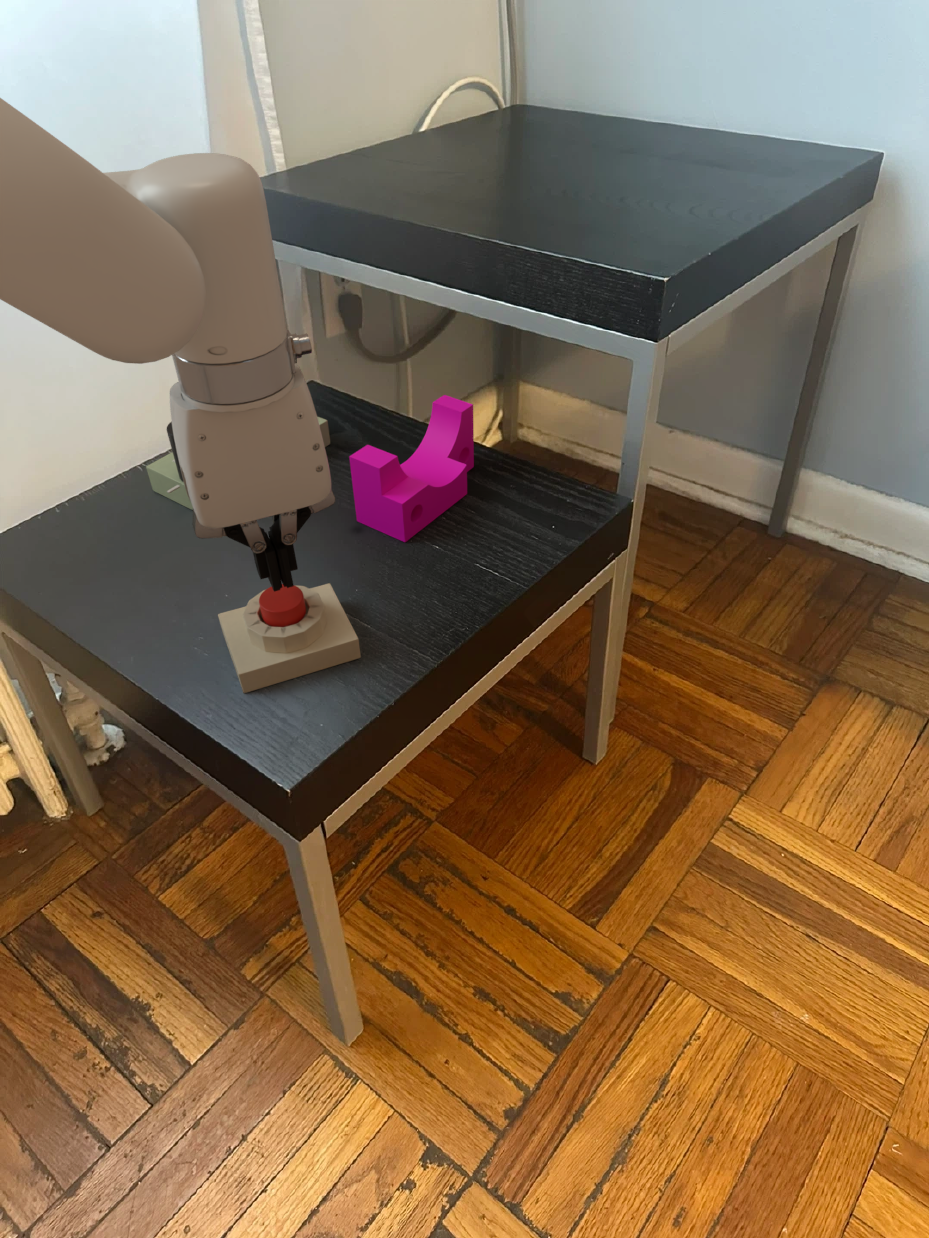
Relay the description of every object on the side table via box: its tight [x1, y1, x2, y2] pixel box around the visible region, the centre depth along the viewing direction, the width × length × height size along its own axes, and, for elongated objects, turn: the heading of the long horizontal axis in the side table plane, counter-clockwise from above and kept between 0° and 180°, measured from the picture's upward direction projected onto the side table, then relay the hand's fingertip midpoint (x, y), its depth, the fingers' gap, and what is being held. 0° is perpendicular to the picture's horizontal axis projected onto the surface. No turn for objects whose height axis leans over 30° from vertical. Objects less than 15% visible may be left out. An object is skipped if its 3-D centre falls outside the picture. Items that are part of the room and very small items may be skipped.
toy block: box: [348, 394, 475, 543], centre depth 89 cm, size 15×6×8 cm, turn 144°
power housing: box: [217, 582, 362, 694], centre depth 74 cm, size 10×8×4 cm
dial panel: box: [145, 416, 331, 511], centre depth 95 cm, size 20×10×3 cm, turn 144°
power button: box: [259, 583, 306, 627], centre depth 72 cm, size 4×4×2 cm
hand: (279, 578), depth 71 cm, fingers closed
